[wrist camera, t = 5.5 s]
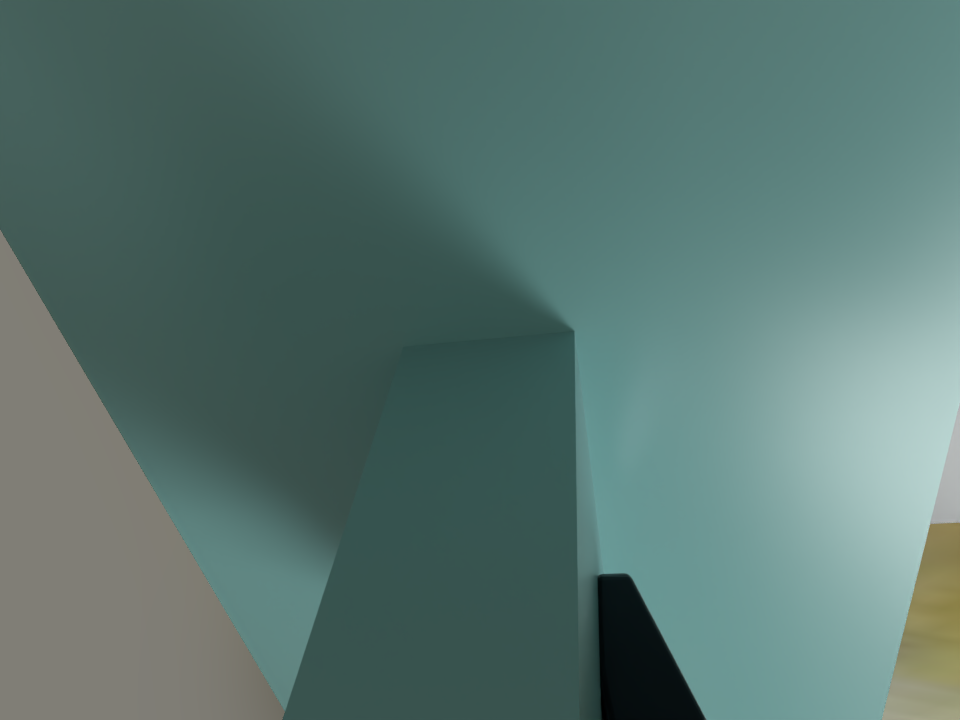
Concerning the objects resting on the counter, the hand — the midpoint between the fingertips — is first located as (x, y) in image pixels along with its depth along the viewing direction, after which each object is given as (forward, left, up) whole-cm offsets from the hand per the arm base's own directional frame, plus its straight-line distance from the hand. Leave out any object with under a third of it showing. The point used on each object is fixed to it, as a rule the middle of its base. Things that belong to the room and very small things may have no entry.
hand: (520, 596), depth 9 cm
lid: (0, 0, -4) cm, 4 cm away
